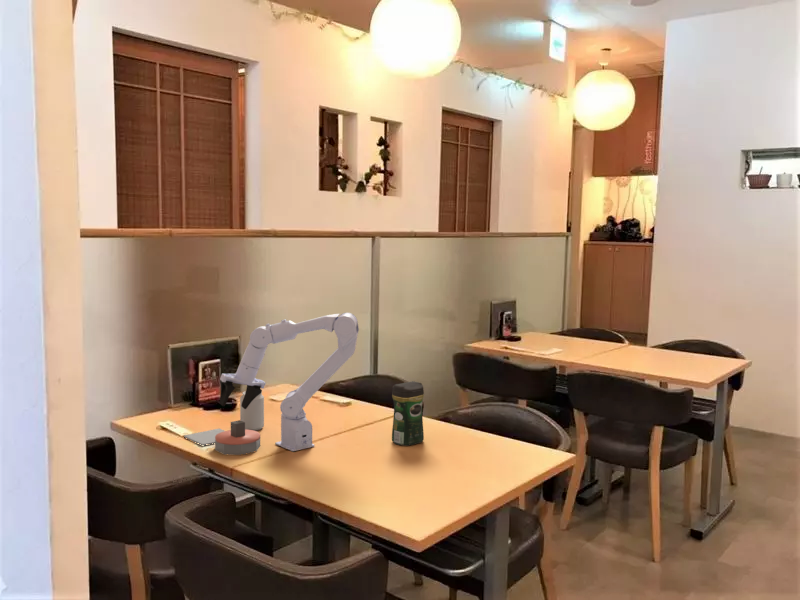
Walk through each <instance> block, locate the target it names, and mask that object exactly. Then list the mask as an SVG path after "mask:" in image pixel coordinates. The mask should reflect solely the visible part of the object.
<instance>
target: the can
mask: <svg viewBox="0 0 800 600" xmlns="http://www.w3.org/2000/svg"><path fill="white" fill-rule="evenodd" d="M245 393H246V390H245V391H243V392H242V393H241V396H240V398H239V401H240V403H239V411H240V413H239V415H240V416H239V417H240V421H243V422H245V429H247V430H254V431H257V432H258V431H260V430H262V428H264V426H265V396H264V395H263V394H262V393H263V391H262V392H261V394H259V395H258V396H257V397H256V398H255V399H254V400H253V401H252V402H251V403H250V404H249V406H248V407H247V408H246V409H244V408H243V407H242V406H241V405H242V401H243V399H244V396H245Z"/></svg>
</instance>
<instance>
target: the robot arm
mask: <svg viewBox="0 0 800 600" xmlns="http://www.w3.org/2000/svg"><path fill="white" fill-rule="evenodd" d="M319 330H325V331H328V332H330V333H332V332H333V331H334V333H335V335H336V338H337V345H338V346H337V348H336V349H335V350H334V352H332V354H330V355H329V356H328V357H327V358H326V360H324V362H323V363H321V365H320V366H319V367H318V368H316V370H315V371H313V373H312V374H311V375H309V377H308V378H307V379H306V380H305V381H304V382H302V384H301V385H299V386H298V387H297V388H296V389H294V390H291V391H289V392H287V394H286V396H285V398H284V399H283V400H282V401H281V403H280V407H279V409H280V413H281V414H280V416H281V417H280V422H281V423H280V431H281V432H280V433H281V434H280V435H281V436H280V438H281V439H280V441H276V442H275V446H278V447H279V446H280V447H281V448H283V449H286V450H289V451H291V452H296V451H297V452H298V451H299V450H304V449H308V448H309V449H310V448H312V447H313V448H314V447H316V445H315V444H314V443H313V425H312V423H311V421H310V420H308V419H307V416H306V414H307V413H306V411H305V410H304V407H305V406H306V404H307V403H308V401H309V400H310V399H311V398H312V397H313V395H315V394H316V393H317V392H318V391H319V390H320V389H321V387H323V386H324V384H325V383H326V382H328V380H330V378H332V376H333V375H334V374H336V373H337V371H338V370H339V369H341V368H342V366H343V365H344V364H345V363H347V361H348V360H349V359H350V358H352V356H353V355H354V354H355V352H356V348H357V347H356V345H357V343H358V342H357V341H358V337H359V331H360V328H359V322H358V318H357V317H356V316H355V314H353V313H351V312H343V313H333V314H327V315H322V316H319V317H315V318H311V319H307V320H303V321H300V322H295V321H292V320H287V319H286V318H285V319H282V320H281V321H279V322H276V323H273V324H272V323H271V324H270V323H266V324H265V325H263V326H262V325H261V326H258V327H256V328H255V329H253V330H252V331H251V333H250V335H249V341H248V343H247V346H246V348H245V350H244V353H243V355H242V356H241V360H240V362H239V365H238V367H237V370H236V372H235V373H221V376H220V378H219V384H220V396H219V397H220V398H219V404H220V405H221V407H226V404H227V403H228V401H229V398H230V396H231V395H232V393H233V391H235V389H236V388H235V387H236V386H235V387H234V384H237V385H242V386H243V385H244V386H246V389H245V391H246V393H245V396H244V399H243V401H242V405H241V406H242V407H243V408H244V409H246V408H247V407H248V406H249V404H250V403H251V402H252V401H253V400H254V399H255V398H256V397H257V396H258V395H259V394H261V392H262V393H263V390H262V389H264V388H265V386H266V384H267V383H266V382H265V381H264V380H263V379H259V378H256V377H257V375H258V371H259V370H260V367H261V364H262V363H263V359H264V357H265V355H266V352H267V348H268V345H270V344H280V343H283V342H287V341H292V340H295V339H296V337H297V336H298V335H300V334H303V333H309V332H313V331H319Z"/></svg>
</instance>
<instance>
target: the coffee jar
mask: <svg viewBox="0 0 800 600" xmlns="http://www.w3.org/2000/svg"><path fill="white" fill-rule="evenodd" d="M424 391H425V390H424V385H423V384H422V383H421V382H418V381H415V380H414V381H413V380H412V381H407V382H402V383H396V384H394V385H393V386H392V394H391V397H392V400H393V418H392V419H393V420H392V429H391V441H392V442H393V443H394V444H395V445H397V446H405V447H408V446H412V445H416V444H419V443H423V442H424V440H425V439H424V438H425V437H424V435H425V434H424V423H423V421H424V420H423V401H424V397H425V392H424Z"/></svg>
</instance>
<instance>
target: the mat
mask: <svg viewBox="0 0 800 600" xmlns="http://www.w3.org/2000/svg"><path fill="white" fill-rule="evenodd" d="M224 431H225V430H224V429H222V428H219V427H218V428H215V429H209V430H204V431H199V432H195V433H190V434H185V435H183V438H184V437H185V439H186V438H187V440H188V439H189V440H188V441H190V440H191V441H190V442H192V441H193V443H195V442H196V443H195V444H197V443H199V444H201V445H206V444H212V443H215V436H216V435H217V434H218V433H221V432H224ZM199 444H198V445H199ZM201 445H200V446H201ZM212 445H213V444H212Z"/></svg>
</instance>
